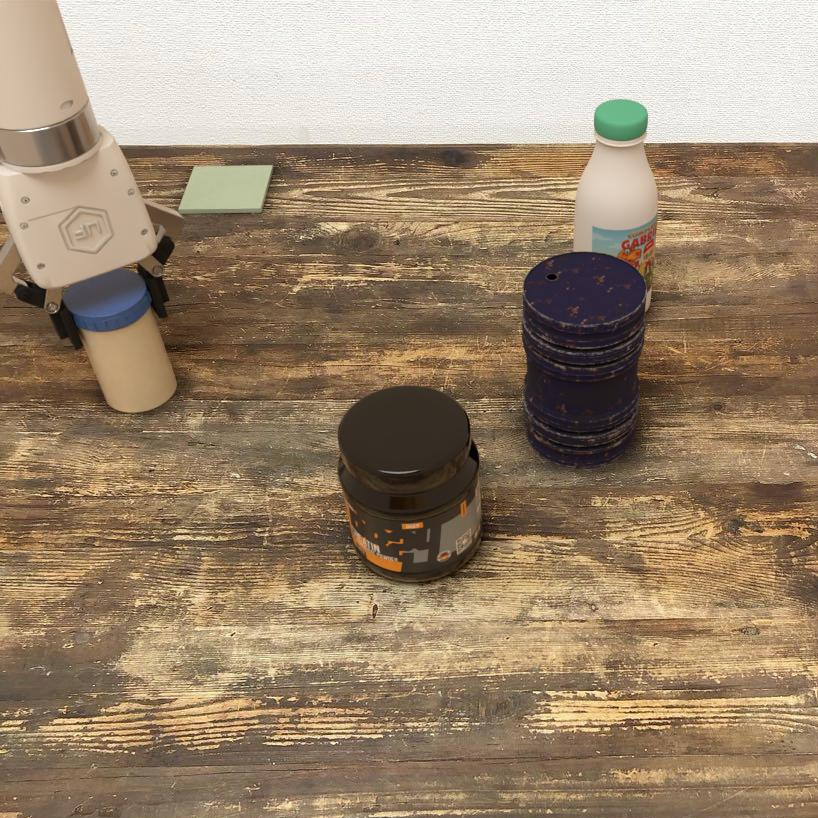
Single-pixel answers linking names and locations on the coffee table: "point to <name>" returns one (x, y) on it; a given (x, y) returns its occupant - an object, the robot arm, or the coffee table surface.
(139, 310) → the lid
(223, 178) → the tile
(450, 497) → the supplement container
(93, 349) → the beige jar
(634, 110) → the milk bottle
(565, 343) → the storage jar
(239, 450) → the coffee table surface
